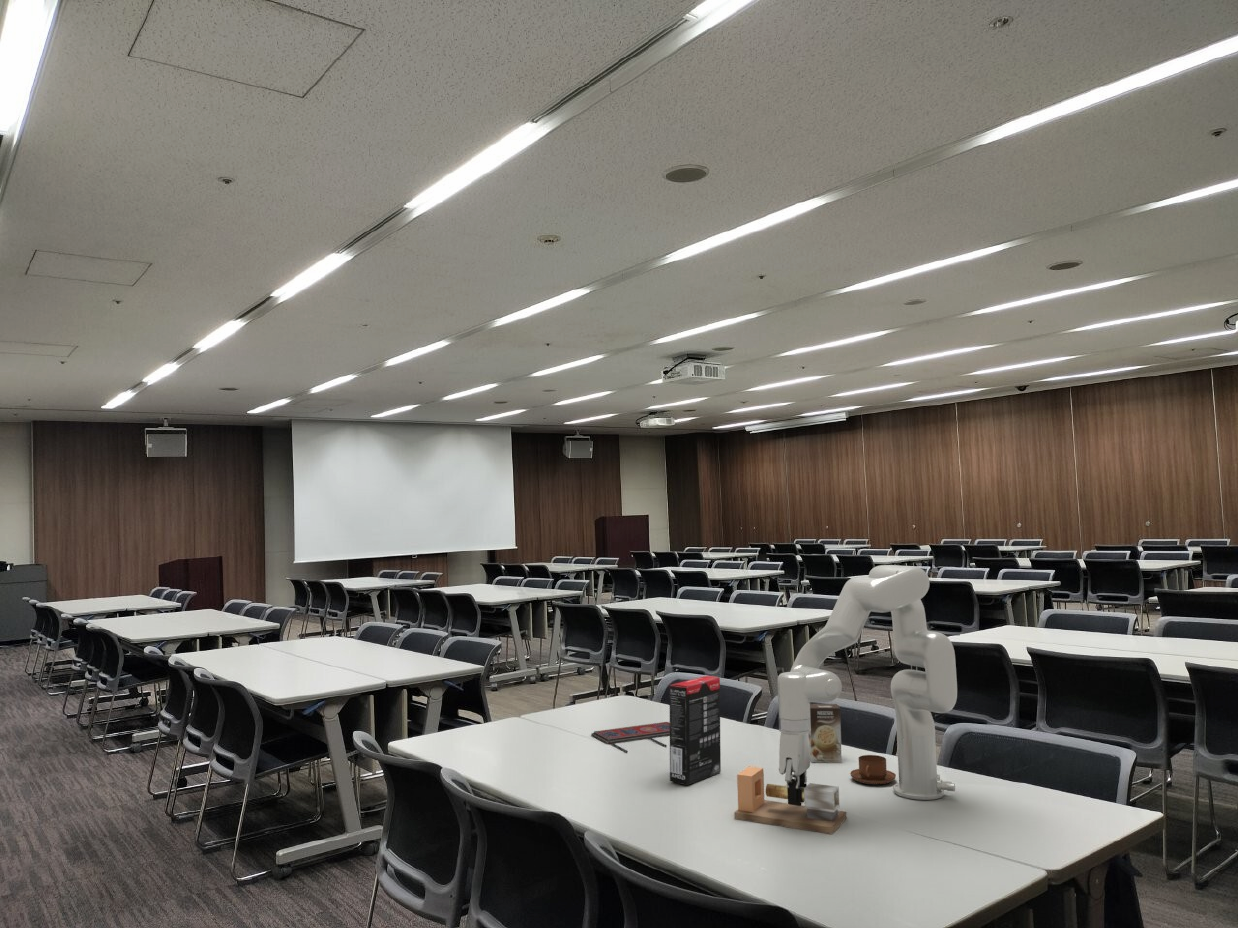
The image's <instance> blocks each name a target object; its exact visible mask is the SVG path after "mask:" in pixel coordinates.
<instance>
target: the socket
mask: <svg viewBox="0 0 1238 928" xmlns="http://www.w3.org/2000/svg"><path fill="white" fill-rule="evenodd" d="M764 780H765V779H764V767H757V766H751V765H750V766H747V767H746V768H744V769H743V770H742V771H740V772H739V773H737V774H736V783H737V785H736V786H737V810H742V811H748V812H754V811H755V810H756V809H757V808H759V807H760V806H761V805H762V804H764V803H765V801H764V800H765V781H764Z"/></svg>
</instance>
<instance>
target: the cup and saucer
mask: <svg viewBox="0 0 1238 928" xmlns="http://www.w3.org/2000/svg"><path fill="white" fill-rule="evenodd" d="M857 760H858V768H856V769H853V770H851V771H850V773H849V774H850V776H851V778H852V779H854V780H855V781H856V782H859V783H863V784H868V785H886V784H888V783H889V784H890V783H892V782H893V781H895V779H896V776H897V774H895V772H893V771H890V770H887V758H886V757H884V756H881V755H876V754H864V755H860V756H859V757H858V758H857Z"/></svg>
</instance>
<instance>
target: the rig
mask: <svg viewBox="0 0 1238 928" xmlns="http://www.w3.org/2000/svg"><path fill="white" fill-rule="evenodd" d="M834 793H835V794H836V804H835V806H834ZM804 799H805V802H804V804H803V805H802V804H801V806H796V805H789V804H788V802H782V801H774V800H768V799H764V801H765V803H764V804H762V805H761V806H760V807H759V808H757V809H756V810H755V811H754V812H748V811H742V810H738V809H736V810H735V811H734V814H733V815H734V820H741V821H748V822H754V823H761V824H766V825H771V826H778V827H779V826H780V827H786V828H791V829H797V830H803V831H804V830H805V831H811V832H816V833H817V832H818V833H822V834H829V835H833V834H834V833H835V832H836V830H837V829H839V827H840V826H841V825H842V824H843V823H844V822H845V820H847V811H843V810H838V809H839V808H840V787H839V786H835V785H827V784H821V783H814V782H809V783H808V784H807V786H806V787H805V788H804Z"/></svg>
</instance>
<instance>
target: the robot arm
mask: <svg viewBox="0 0 1238 928" xmlns="http://www.w3.org/2000/svg"><path fill="white" fill-rule="evenodd" d="M929 589H930V578H929V576H928V574H927V572H926V571H925V570H924V569H922V568H920V567H917V566H915V565H914V566H912V565H911V566H910V565H896V564H894V565H893V564H881V565H877V566H874V567H872V569H871V570H870V571H869V573H868V577H863V576H862V577H860V576H859V577H858V576H857V577H851V578H850V579H848V580H847V581H846V582H845V584H844V585H843V587H842V590H841V592H840V593H839V596H838V598H837V600H836V602H835V605H834V607H833V609H832V611H831V614H830V615H829V617H828V620H827V622H826V624H825V626H824V627H823V628H822V629H820V630H819V631H818V632H816V633H815V634H814V635H813V636H812V637H811V638H809V640H808V641H807V642H806V643H805V644H804V645H803V646H802V647H801V648H800V650H799V651H798V653H797V656H796V658H795V660H794V662H793V663H792V666H791V668H790V671H787V672H781V673H779V675H778V676H777V702H778V703H777V705H778V706H777V707H778V731H779V732H780V735H779V736H780V738H779V754H778V755H779V758H778V759H779V760H778V763H779V769H778V771H779V774H780V775H784V774H785V776H784V781H785V782H786V786H787V791H788V799H787V803H788V804H789V805H796V806H801V805H802V804H803V803H802V802H801V788H799V787H804V788H805V787H806V786H807V785H808V784H807V782H808V781H807V780H808V777H807V773H808V772H807V770H808V769H809V768H810V766H811V761H810V745H809V735H808V733H809V732H811V724H810V704H811V703H812V702H813V703H829V702H833V701H834V700H836V699H838V698H839V696H840V695H841V693H842V691H843V690H842V689H843V683H842V681H841V679H840V678H839V676H838V675H837V674H835V673H834V672H832V671H829V670H826V669H820V667H821V666H822V663H823V662H824V661H825V660H826V659H827V658H828V657H829V656H830V655H832V654H834V653H835V652H836V653H837V652H838V651H841V650H843V649H846V648H849V647H850V646H853V645H854V644H855V643H857V642H858V641H859V638H860V636H861V634H862V632H863V629H864V626H865V624H866V622H867V620H868V618H869V616H870V614H871V612H873V613H889V612H890V614H891V620H892V635H893V636H892V637H893V639H892V640H893V647H894V648H893V649H894V654H895V657H896V659H897V660H898V661H899V662H900V663H902V664H904V665H908V666H912V667H917V668H918V667H919V668H923V669H924V670H925V671H922V670H916V669H910V668H909V669H903V670H899V671H898V672H896V673H895V674H894V675H893V677H892V678H891V682H890V693H891V697H892V701H893V706H894V711H895V721H896V722H895V724H896V741H897V743H896V747H897V763H898V764H897V766H898V767H897V769H898V783H895V784H894V785H893V788H892V789H893V793H894V794H896V795H897V796H899V797H902V798H906V799H911V800H918V801H919V800H920V801H930V800H933V801H934V800H937V799H941V798H943V797H944V796H945V791H947V792H956V783H953V782H952V781H950V780H949V781H948V780H943V779H941V775H940V774H938V767H937V749H936V727H935V721H934V719H933V718H934V717H933V716H932V715H933V714H932V713H931V712H933V713H938V714H946V713H949V712H950V711H952V710H953V708H954V707H955V705H956V703H957V699H958V681H957V680H958V679H957V667H956V654H955V653H956V652H955V649H954V644H953V643H952V641H951V640H950V638H949V637H948V636H947V635H945V634H943V633H941V632H938V631H933V630H928V627H927V619H926V618H927V617H926V611H925V607H924V606H925V605H923V602H922V600H921V599H923V598H924V597H925V596H926V594H927V593H928V591H929Z"/></svg>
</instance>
